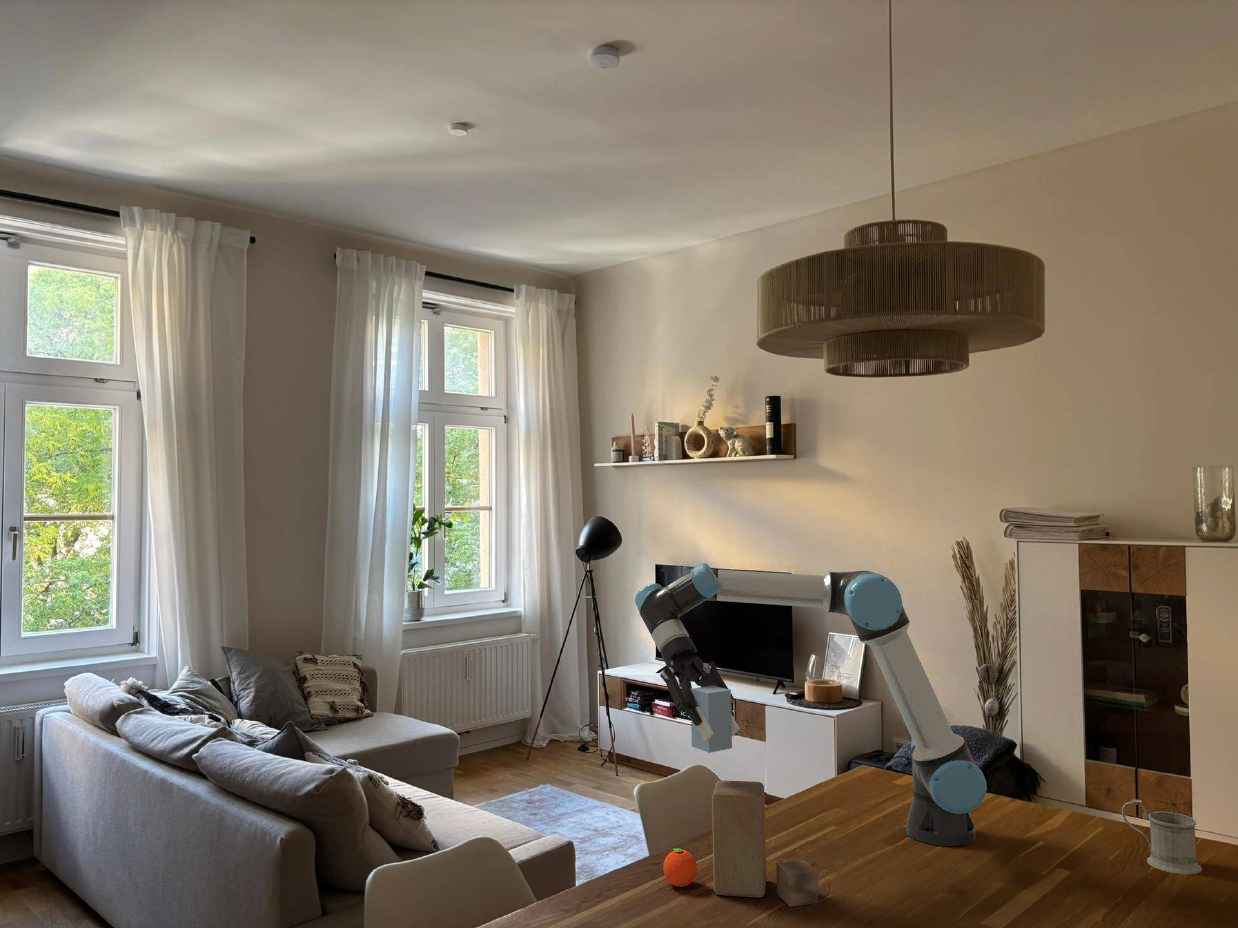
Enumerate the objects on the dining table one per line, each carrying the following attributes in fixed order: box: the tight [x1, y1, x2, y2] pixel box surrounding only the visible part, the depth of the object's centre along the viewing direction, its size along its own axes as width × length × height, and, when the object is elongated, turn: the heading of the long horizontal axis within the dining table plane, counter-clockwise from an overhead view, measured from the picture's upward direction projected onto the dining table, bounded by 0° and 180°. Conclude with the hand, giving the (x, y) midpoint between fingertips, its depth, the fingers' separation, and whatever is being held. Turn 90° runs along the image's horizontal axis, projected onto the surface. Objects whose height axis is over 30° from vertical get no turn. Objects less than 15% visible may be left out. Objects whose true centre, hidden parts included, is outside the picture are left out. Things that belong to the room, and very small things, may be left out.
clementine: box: [662, 847, 698, 888], centre depth 184 cm, size 8×7×7 cm
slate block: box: [690, 686, 733, 754], centre depth 189 cm, size 6×6×12 cm
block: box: [711, 779, 767, 898], centre depth 182 cm, size 10×10×20 cm
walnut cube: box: [775, 859, 819, 907], centre depth 177 cm, size 6×6×6 cm
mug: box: [1121, 799, 1203, 875], centre depth 192 cm, size 14×10×12 cm
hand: (722, 734), depth 186 cm, fingers closed on slate block, 6 cm apart
